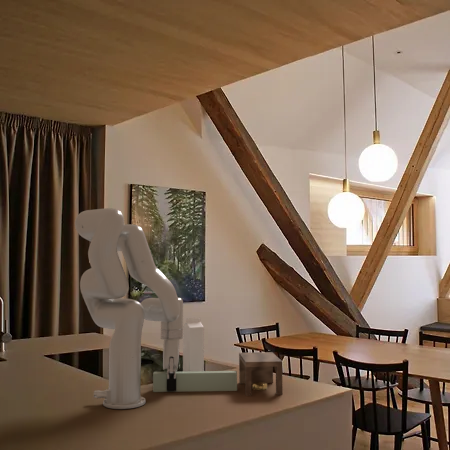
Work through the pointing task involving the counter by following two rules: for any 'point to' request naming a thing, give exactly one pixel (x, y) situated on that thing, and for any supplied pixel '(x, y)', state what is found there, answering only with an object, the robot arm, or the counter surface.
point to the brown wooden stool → (259, 370)
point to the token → (259, 386)
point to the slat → (197, 381)
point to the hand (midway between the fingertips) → (171, 389)
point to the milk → (193, 345)
